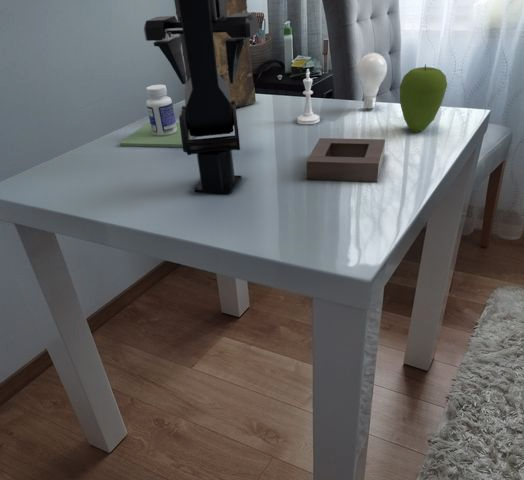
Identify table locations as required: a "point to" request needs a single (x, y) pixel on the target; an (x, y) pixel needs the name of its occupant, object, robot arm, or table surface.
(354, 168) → the holder
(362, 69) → the lightbulb
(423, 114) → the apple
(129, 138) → the mat
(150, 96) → the pill bottle
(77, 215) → the table surface
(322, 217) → the table surface
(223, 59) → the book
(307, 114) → the chess piece
